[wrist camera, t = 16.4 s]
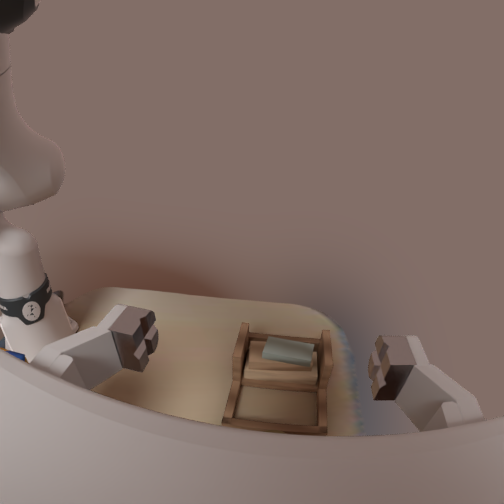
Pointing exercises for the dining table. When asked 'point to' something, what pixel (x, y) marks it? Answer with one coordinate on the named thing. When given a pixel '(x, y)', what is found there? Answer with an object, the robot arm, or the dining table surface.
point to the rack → (281, 374)
